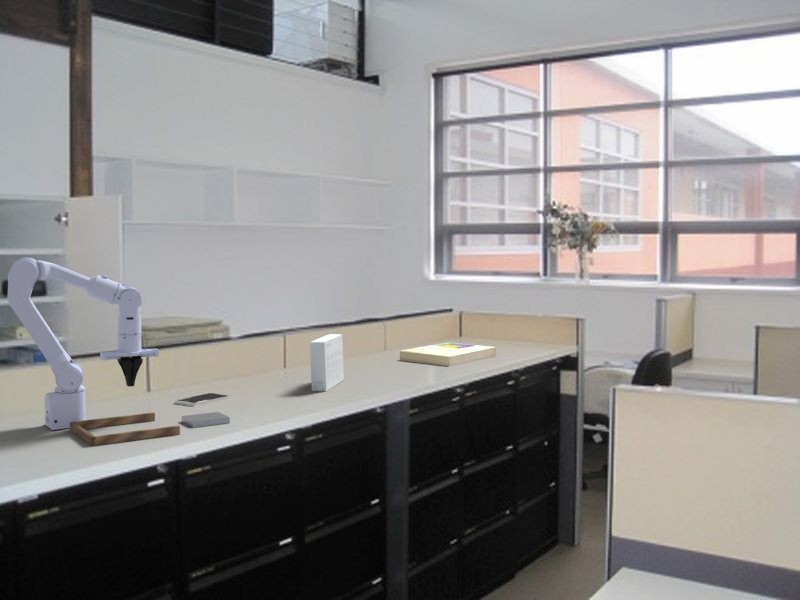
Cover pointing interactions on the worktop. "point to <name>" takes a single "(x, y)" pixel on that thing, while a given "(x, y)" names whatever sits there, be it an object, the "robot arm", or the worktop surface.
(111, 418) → the walnut u-shaped frame
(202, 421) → the cover plate
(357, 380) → the worktop surface
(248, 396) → the worktop surface
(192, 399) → the smartphone
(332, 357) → the skincare box
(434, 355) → the puzzle box
